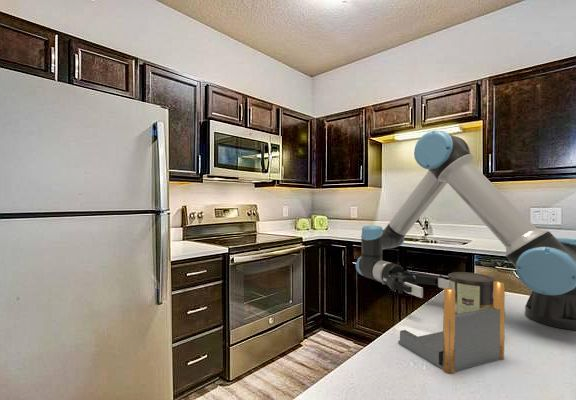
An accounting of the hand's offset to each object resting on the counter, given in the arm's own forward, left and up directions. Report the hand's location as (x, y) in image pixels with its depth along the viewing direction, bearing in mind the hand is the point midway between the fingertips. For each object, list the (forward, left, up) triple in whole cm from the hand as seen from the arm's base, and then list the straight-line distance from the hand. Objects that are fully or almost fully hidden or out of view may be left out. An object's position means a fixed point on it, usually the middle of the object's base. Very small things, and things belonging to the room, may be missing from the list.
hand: (440, 290), depth 91 cm
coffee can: (0, +9, -8) cm, 12 cm away
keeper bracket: (+14, +14, -8) cm, 22 cm away
